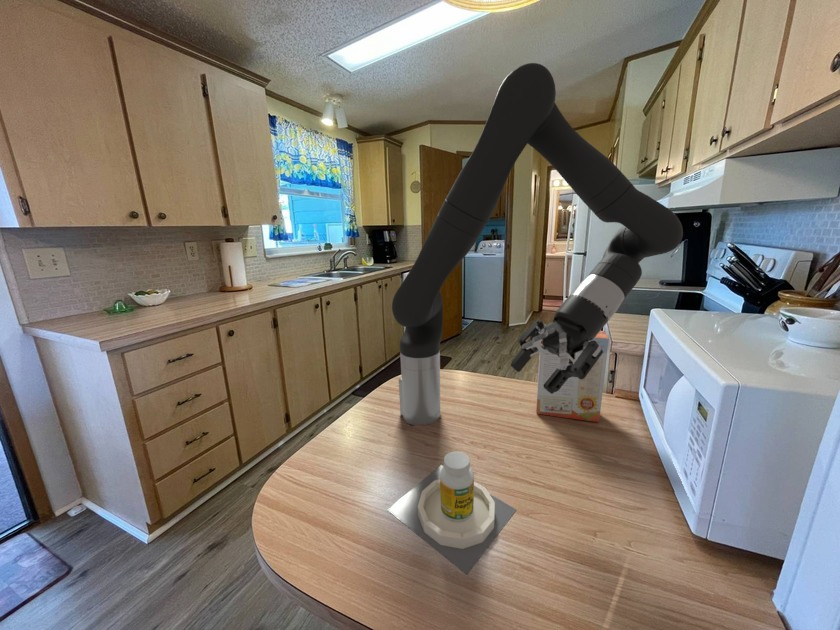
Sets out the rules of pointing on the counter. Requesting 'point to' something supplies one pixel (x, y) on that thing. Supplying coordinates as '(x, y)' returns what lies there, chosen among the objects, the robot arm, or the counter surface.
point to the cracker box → (573, 387)
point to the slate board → (459, 557)
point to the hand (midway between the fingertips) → (529, 379)
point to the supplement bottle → (457, 487)
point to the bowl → (452, 531)
